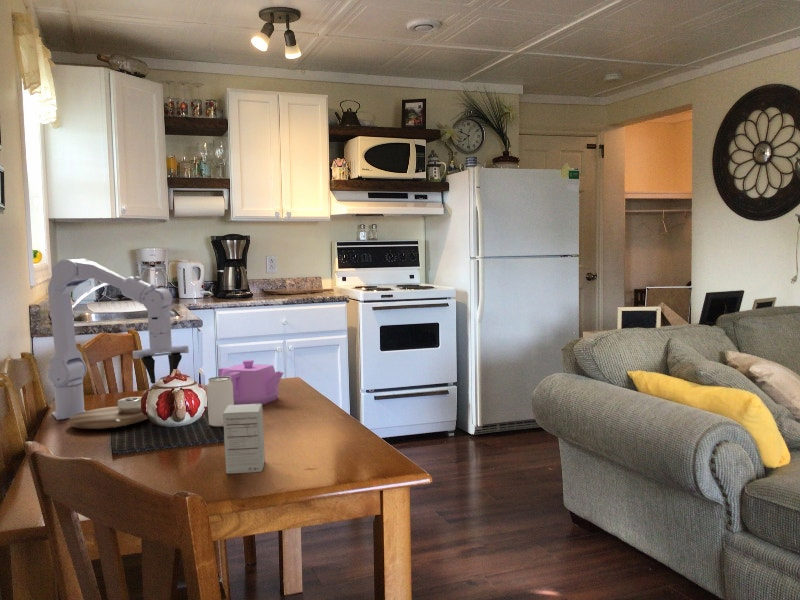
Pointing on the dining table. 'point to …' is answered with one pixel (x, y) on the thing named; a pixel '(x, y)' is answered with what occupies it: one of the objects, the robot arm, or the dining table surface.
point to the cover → (129, 405)
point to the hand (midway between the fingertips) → (162, 381)
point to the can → (219, 399)
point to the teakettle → (253, 382)
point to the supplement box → (244, 438)
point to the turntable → (104, 418)
